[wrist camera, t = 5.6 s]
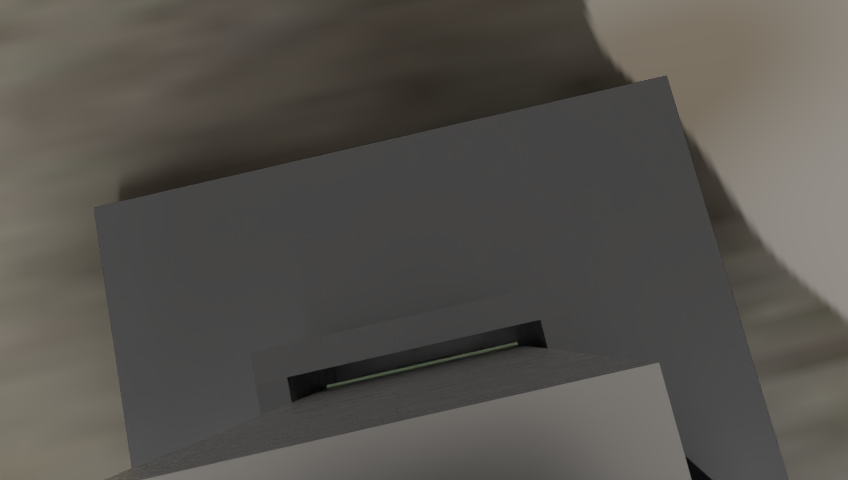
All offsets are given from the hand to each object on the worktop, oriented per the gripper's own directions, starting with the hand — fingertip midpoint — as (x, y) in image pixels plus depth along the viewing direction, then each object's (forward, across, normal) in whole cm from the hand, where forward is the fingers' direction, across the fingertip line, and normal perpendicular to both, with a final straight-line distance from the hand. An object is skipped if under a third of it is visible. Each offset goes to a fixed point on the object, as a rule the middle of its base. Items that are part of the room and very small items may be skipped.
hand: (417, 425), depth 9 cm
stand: (+5, 0, +7) cm, 9 cm away
